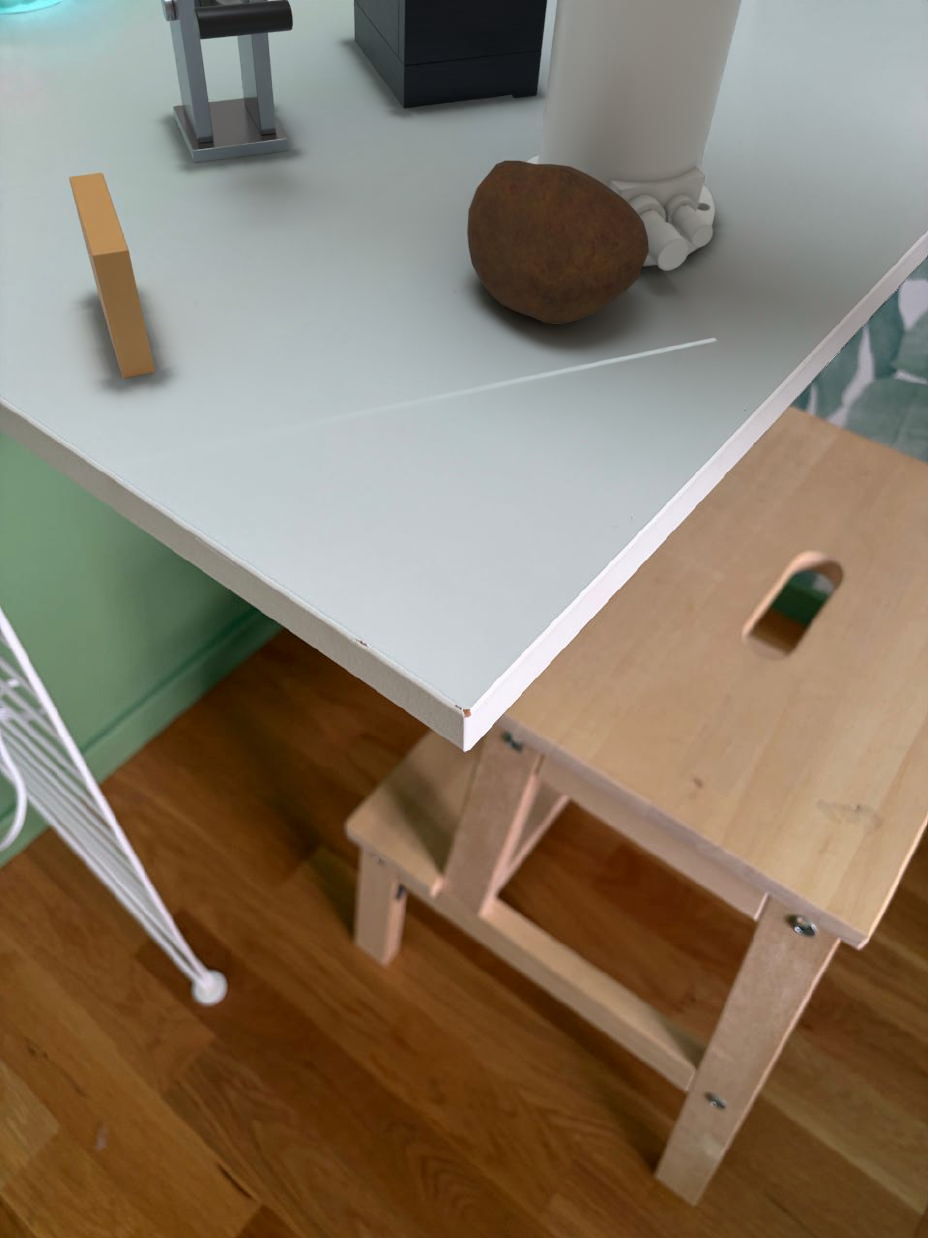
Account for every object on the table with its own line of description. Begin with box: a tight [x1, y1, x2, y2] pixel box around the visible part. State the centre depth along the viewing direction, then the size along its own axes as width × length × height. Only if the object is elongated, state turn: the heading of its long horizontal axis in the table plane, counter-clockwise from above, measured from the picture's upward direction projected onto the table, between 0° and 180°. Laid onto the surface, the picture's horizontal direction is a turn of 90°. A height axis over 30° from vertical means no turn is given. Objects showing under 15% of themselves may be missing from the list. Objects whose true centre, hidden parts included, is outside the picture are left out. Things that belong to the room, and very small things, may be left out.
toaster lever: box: [193, 0, 294, 40], centre depth 58 cm, size 10×5×2 cm, turn 21°
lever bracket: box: [160, 0, 289, 164], centre depth 63 cm, size 6×6×10 cm
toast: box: [68, 172, 156, 379], centre depth 50 cm, size 7×2×7 cm, turn 21°
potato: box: [466, 160, 649, 325], centre depth 54 cm, size 7×10×8 cm
